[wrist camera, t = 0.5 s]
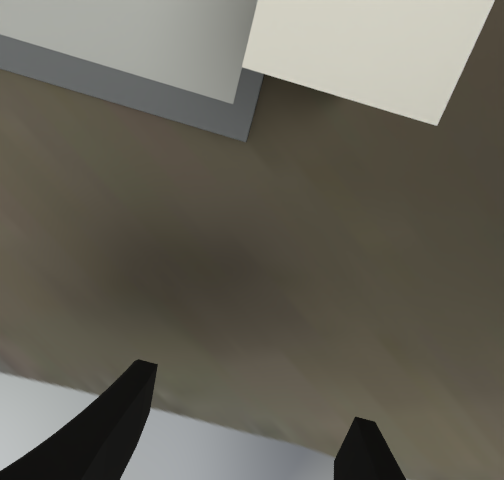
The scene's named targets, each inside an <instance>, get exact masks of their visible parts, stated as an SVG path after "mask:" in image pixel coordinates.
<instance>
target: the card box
mask: <svg viewBox="0 0 504 480" xmlns="http://www.w3.org/2000/svg"><path fill="white" fill-rule="evenodd" d="M494 1H495V0H258V2H257V6H256V10H255V14H254V18H253V22H252V27H251V31H250V35H249V39H248V43H247V47H246V52H245V56H244V60H243V64H242V67H243V68H246V69H250V70H253V71H256V72H260V73H263V74H266V75H270V76H273V77H276V78H280V79H283V80H286V81H289V82H293V83H296V84H299V85H303V86H306V87H309V88H313V89H316V90H319V91H323V92H326V93H329V94H333V95H336V96H339V97H343V98H346V99H349V100H353V101H356V102H359V103H363V104H366V105H369V106H372V107H376V108H379V109H382V110H386V111H389V112H392V113H396V114H399V115H402V116H406V117H409V118H412V119H416V120H419V121H422V122H426V123H429V124H432V125H436V126H437V125H438V123H439V121H440V118H441V116H442V114H443V112H444V110H445V108H446V105H447V103H448V101H449V99H450V97H451V95H452V92H453V90H454V88H455V86H456V84H457V82H458V79H459V77H460V75H461V73H462V71H463V68H464V66H465V64H466V62H467V60H468V58H469V55H470V53H471V51H472V49H473V47H474V45H475V42H476V40H477V38H478V36H479V34H480V32H481V29H482V27H483V25H484V23H485V21H486V18H487V16H488V14H489V12H490V10H491V8H492V5H493V3H494Z"/></svg>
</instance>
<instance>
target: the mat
mask: <svg viewBox="0 0 504 480" xmlns="http://www.w3.org/2000/svg"><path fill="white" fill-rule="evenodd" d="M257 2H258V0H0V69H3V70H6V71H10V72H13V73H16V74H20V75H23V76H26V77H30V78H33V79H36V80H40V81H43V82H47V83H50V84H53V85H57V86H60V87H63V88H67V89H70V90H73V91H77V92H80V93H83V94H87V95H90V96H93V97H97V98H100V99H103V100H107V101H110V102H113V103H117V104H120V105H123V106H127V107H130V108H133V109H137V110H140V111H143V112H147V113H150V114H153V115H157V116H160V117H163V118H167V119H170V120H173V121H177V122H180V123H183V124H187V125H190V126H193V127H197V128H200V129H203V130H207V131H210V132H213V133H217V134H220V135H223V136H227V137H230V138H233V139H237V140H240V141H243V142H246V141H247V138H248V135H249V131H250V127H251V123H252V119H253V116H254V112H255V108H256V104H257V101H258V97H259V93H260V89H261V85H262V82H263V78H264V74H263V73H260V72H256V71H253V70H250V69H246V68H243V67H242V64H243V60H244V56H245V52H246V47H247V43H248V39H249V35H250V31H251V27H252V22H253V18H254V14H255V10H256V6H257Z"/></svg>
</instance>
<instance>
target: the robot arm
mask: <svg viewBox="0 0 504 480" xmlns="http://www.w3.org/2000/svg"><path fill="white" fill-rule="evenodd" d="M157 366H158V364H154V363H150V362H146V361H142V360H139V359H138V360H136V361H134V362H133V364H132V365H131V366H130V367H129V368H128V369H127V370H126V371H125V372H124V373H123V374H122V375H121V376H120V377H119V378H118V379H117V380H116V381H115V382H114V383H113V384H112V385H111V386H110V387H109V388H108V389H107V390H106V391H105V392H103V393H102V394H101V395H100V396H99V397H98V398H97V399H96V400H95V401H93V402H92V403H91V404H90V405H89V406H88V407H87V408H86V409H84V410H83V411H82V412H81V413H80V414H78V415H77V416H76V417H75V418H74V419H72V420H71V421H70V422H69V423H67V424H66V425H65V426H63V427H62V428H61V429H60V430H59V431H57V432H56V433H55V434H53V435H52V436H51V437H49V438H48V439H47V440H45V441H44V442H43V443H41V444H40V445H38V446H37V447H36V448H34V449H33V450H31V451H30V452H28V453H27V454H26V455H24V456H23V457H21V458H20V459H18V460H17V461H15V462H14V463H12V464H11V465H9V466H7V467H6V468H4V469H3V470H1V471H0V480H120V478H121V476H122V474H123V472H124V470H125V468H126V466H127V464H128V462H129V460H130V458H131V456H132V454H133V452H134V450H135V448H136V446H137V444H138V441H139V438H140V436H141V433H142V431H143V428H144V426H145V423H146V420H147V418H148V415H149V412H150V407H151V401H152V395H153V389H154V383H155V378H156V372H157ZM334 480H406V478H405V477H404V475H403V473H402V471H401V469H400V468H399V466H398V464H397V462H396V460H395V458H394V456H393V455H392V453H391V451H390V449H389V447H388V445H387V443H386V441H385V439H384V438H383V436H382V434H381V432H380V430H379V428H378V426H377V425H376V423H375V422H374V421H370V420H366V419H362V418H358V417H355V418H354V421H353V423H352V425H351V427H350V429H349V431H348V433H347V435H346V437H345V439H344V441H343V444H342V446H341V448H340V450H339V452H338V454H337V456H336V458H335V460H334Z"/></svg>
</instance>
